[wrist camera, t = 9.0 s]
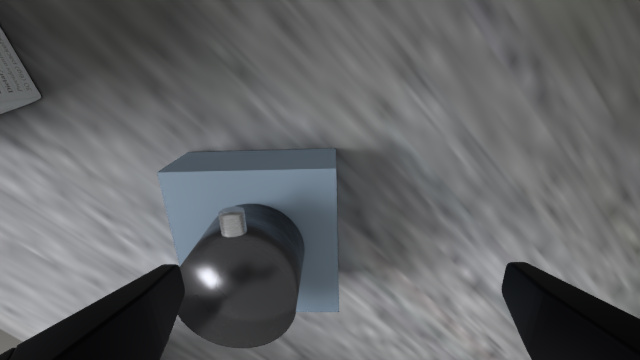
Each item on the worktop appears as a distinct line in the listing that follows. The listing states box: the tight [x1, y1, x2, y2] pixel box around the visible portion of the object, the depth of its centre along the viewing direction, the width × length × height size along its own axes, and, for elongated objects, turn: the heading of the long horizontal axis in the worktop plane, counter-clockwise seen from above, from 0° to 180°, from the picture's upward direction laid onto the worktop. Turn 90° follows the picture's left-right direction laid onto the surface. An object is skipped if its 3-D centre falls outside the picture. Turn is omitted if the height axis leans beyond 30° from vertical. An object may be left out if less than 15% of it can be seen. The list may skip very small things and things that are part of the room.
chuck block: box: [157, 148, 339, 312], centre depth 21 cm, size 10×10×4 cm
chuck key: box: [178, 204, 305, 348], centre depth 19 cm, size 8×6×8 cm
